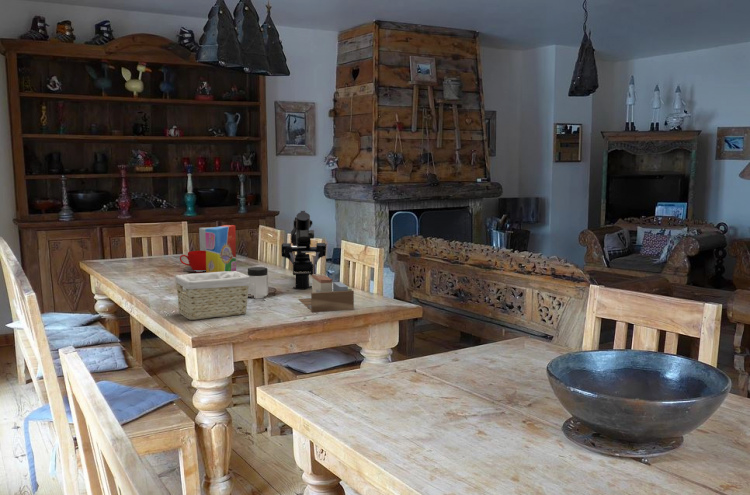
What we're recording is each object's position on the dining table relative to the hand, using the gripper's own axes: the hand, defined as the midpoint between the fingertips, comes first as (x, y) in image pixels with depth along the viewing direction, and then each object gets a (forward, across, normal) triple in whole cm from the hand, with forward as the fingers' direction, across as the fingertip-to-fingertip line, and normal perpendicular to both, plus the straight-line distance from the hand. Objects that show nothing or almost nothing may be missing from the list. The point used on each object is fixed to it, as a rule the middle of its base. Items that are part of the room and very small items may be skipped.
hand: (304, 263), depth 276 cm
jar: (+5, -19, +14) cm, 25 cm away
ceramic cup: (-51, -51, +54) cm, 90 cm away
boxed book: (+20, +6, +2) cm, 21 cm away
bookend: (+29, +2, -4) cm, 29 cm away
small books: (+28, +13, -2) cm, 31 cm away
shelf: (+24, +7, 0) cm, 25 cm away
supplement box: (-92, -47, +84) cm, 133 cm away
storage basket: (+30, -35, -4) cm, 46 cm away
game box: (-15, -36, +29) cm, 48 cm away
